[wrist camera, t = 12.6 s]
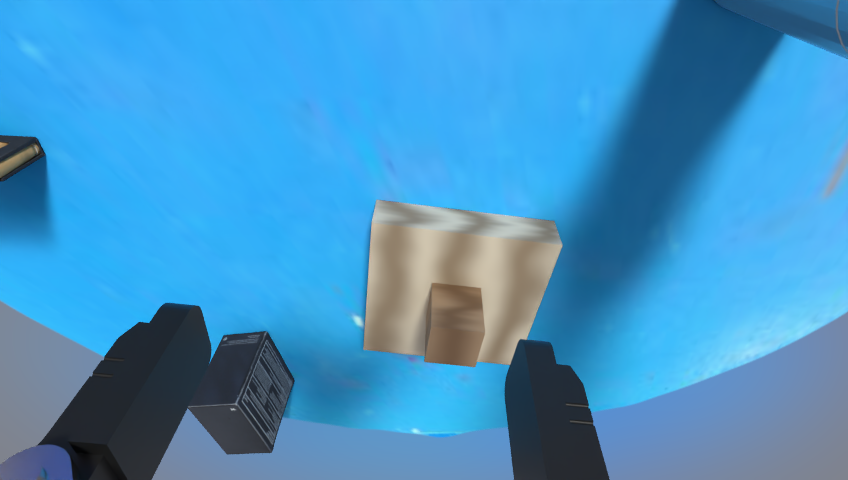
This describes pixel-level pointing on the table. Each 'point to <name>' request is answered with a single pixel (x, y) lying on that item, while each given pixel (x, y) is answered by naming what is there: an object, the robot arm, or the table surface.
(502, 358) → the birch plinth
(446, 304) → the walnut block
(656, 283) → the table surface
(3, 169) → the ammunition clip
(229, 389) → the small box
